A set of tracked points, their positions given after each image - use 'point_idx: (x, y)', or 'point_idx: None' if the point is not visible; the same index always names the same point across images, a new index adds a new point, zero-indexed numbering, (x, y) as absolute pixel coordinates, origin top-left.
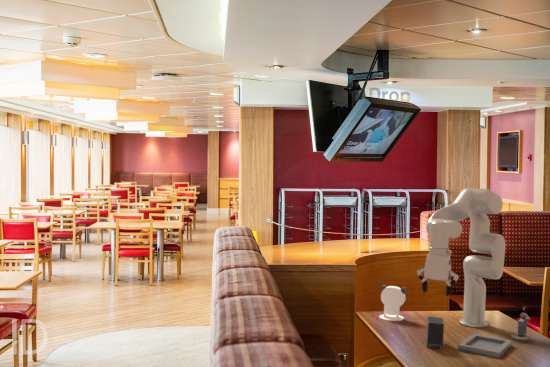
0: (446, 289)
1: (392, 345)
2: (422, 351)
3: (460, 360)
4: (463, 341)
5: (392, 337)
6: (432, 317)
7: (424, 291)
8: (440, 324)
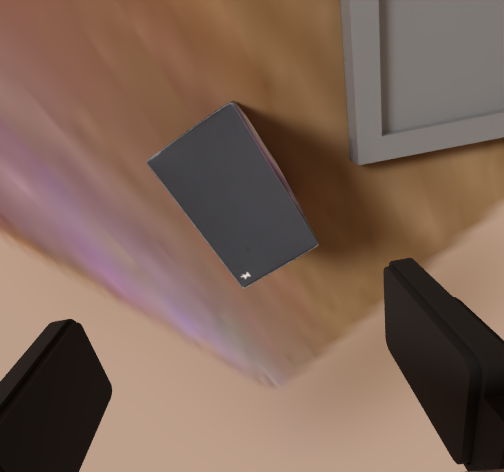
0: (430, 415)
1: (138, 300)
2: None
3: None
4: (357, 87)
5: (54, 217)
6: (189, 171)
7: (105, 399)
8: (302, 253)
